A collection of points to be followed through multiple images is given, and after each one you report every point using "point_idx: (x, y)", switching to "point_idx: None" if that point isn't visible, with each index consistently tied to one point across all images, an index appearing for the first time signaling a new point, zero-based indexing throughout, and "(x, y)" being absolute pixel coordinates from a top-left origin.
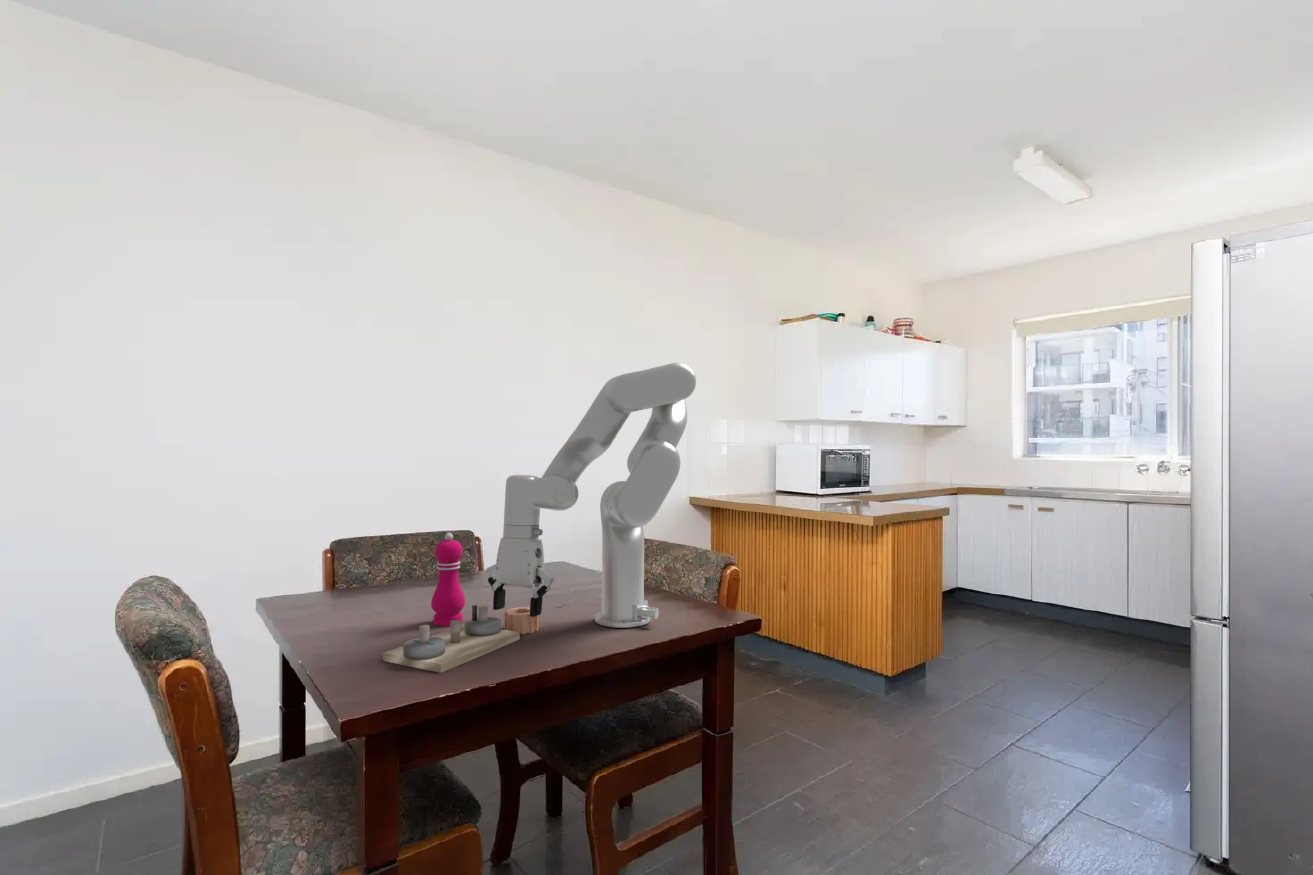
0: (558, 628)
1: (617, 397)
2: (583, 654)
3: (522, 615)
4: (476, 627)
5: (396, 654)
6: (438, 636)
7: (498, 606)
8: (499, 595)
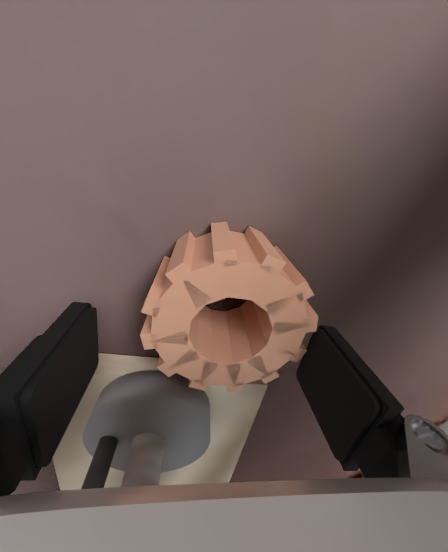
0: (358, 229)
1: None
2: (441, 398)
3: (265, 382)
4: (166, 468)
5: None
6: (76, 462)
7: (92, 361)
8: (57, 419)
